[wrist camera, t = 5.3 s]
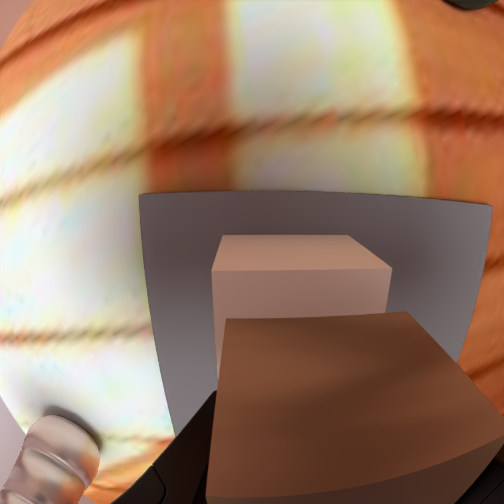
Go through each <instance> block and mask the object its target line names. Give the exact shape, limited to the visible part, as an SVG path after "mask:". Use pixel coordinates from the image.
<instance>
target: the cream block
mask: <svg viewBox="0 0 504 504" xmlns="http://www.w3.org/2000/svg"><path fill="white" fill-rule="evenodd" d="M391 273H392V268H391V267H390V266H389V265H388V264H386V263H385V262H384V261H382V260H381V259H380V258H378V257H377V256H376V255H374V254H373V253H372V252H370V251H369V250H368V249H366V248H365V247H364V246H362V245H361V244H360V243H358V242H357V241H355V240H354V239H353V238H351V237H350V236H349V235H223V236H222V239H221V242H220V245H219V248H218V251H217V254H216V258H215V261H214V264H213V267H212V270H211V275H212V295H213V313H214V330H215V345H216V359H217V372H218V378H219V370H220V362H221V354H222V346H223V338H224V330H225V322H226V318H299V317H326V316H345V315H362V314H376V313H385V310H386V304H387V299H388V293H389V287H390V280H391Z"/></svg>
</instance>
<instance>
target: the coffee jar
mask: <svg viewBox="0 0 504 504" xmlns="http://www.w3.org/2000/svg"><path fill="white" fill-rule="evenodd" d="M449 1H450V2H452V3H455V4H457V5H458V6H461V7H463V8H466V9H473V10H475V9H481V8H484V7H487V6H489V5H491V4H493V3H495V2H496V1H498V0H449Z"/></svg>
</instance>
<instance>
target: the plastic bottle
mask: <svg viewBox="0 0 504 504" xmlns="http://www.w3.org/2000/svg"><path fill="white" fill-rule="evenodd" d="M99 462H100V454H99V451H98V447H97V445H96V443H95V441H94V440H93V438H92V437H91V436H90V435H89V434H88V433H87V432H86V431H85V430H83V429H82V428H81V427H79V426H78V425H77V424H75V423H74V422H72V421H70V420H68V419H66V418H64V417H61V416H57V415H48V416H43V417H41V418H39V419H38V420H37V421H36V422H35V423H34V424H33V425H32V426H31V427H30V428H29V431H28V433H27V435H26V438H25V440H24V443H23V446H22V451H21V452H20V454H19V456H18V459H17V461H16V463H15V465H14V467H13V469H12V472H11V474H10V476H9V478H8V480H7V481H6V483H5V484H4V488H3V489H2V490H0V504H78V502H79V500H80V498H81V496H82V494H83V493H84V490H86V489H87V488H88V486H89V485H90V484H91V482H92V481H93V479H94V477H95V476H96V474H97V472H98V468H99Z"/></svg>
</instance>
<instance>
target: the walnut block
mask: <svg viewBox="0 0 504 504" xmlns="http://www.w3.org/2000/svg"><path fill="white" fill-rule="evenodd" d="M503 444H504V418H503V416H502V415H501V414H500V413H499V412H498V410H497V409H496V408H495V407H494V406H493V404H492V403H491V402H490V401H489V400H488V398H487V397H486V396H485V395H484V394H483V393H482V391H481V390H480V389H479V388H478V387H477V386H476V385H475V383H474V382H473V381H472V380H471V379H470V378H469V377H468V375H467V374H466V373H465V372H464V371H463V370H462V369H461V368H460V367H459V365H458V364H457V363H456V362H455V361H454V360H453V359H452V358H451V357H450V356H449V355H448V353H447V352H446V351H445V350H444V349H443V348H442V347H441V346H440V345H439V344H438V343H437V342H436V341H435V340H434V339H433V338H432V337H431V335H430V334H429V333H428V332H427V331H426V330H425V329H424V328H423V327H422V326H421V325H420V324H419V323H418V322H417V321H416V320H415V319H414V318H413V317H412V316H411V315H410V314H409V313H408V312H407V311H401V312H389V313H376V314H362V315H345V316H326V317H299V318H226V322H225V330H224V338H223V346H222V354H221V362H220V370H219V378H218V387H217V395H216V404H215V412H214V421H213V430H212V439H211V448H210V458H209V467H208V477H207V487H206V500H207V503H208V504H454V503H455V502H456V501H457V500H458V499H459V498H460V497H461V496H462V495H463V494H464V493H465V492H466V490H467V489H468V488H469V487H470V486H471V485H472V484H473V483H474V481H475V480H476V479H477V478H478V477H479V475H480V474H481V473H482V472H483V471H484V469H485V468H486V467H487V466H488V464H489V463H490V462H491V460H492V459H493V458H494V456H495V455H496V454H497V452H498V451H499V450H500V448H501V447H502V446H503Z"/></svg>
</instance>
